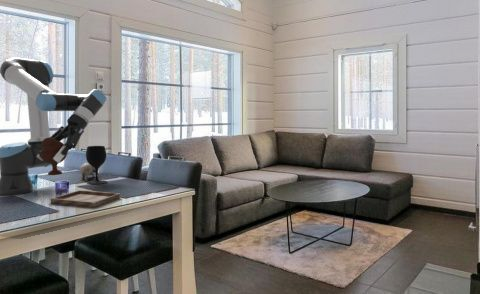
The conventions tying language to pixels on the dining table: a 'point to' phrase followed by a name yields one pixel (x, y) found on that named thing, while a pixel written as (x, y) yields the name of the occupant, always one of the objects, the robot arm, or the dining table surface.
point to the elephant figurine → (86, 170)
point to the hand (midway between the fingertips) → (47, 159)
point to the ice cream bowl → (51, 153)
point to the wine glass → (96, 160)
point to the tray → (85, 198)
